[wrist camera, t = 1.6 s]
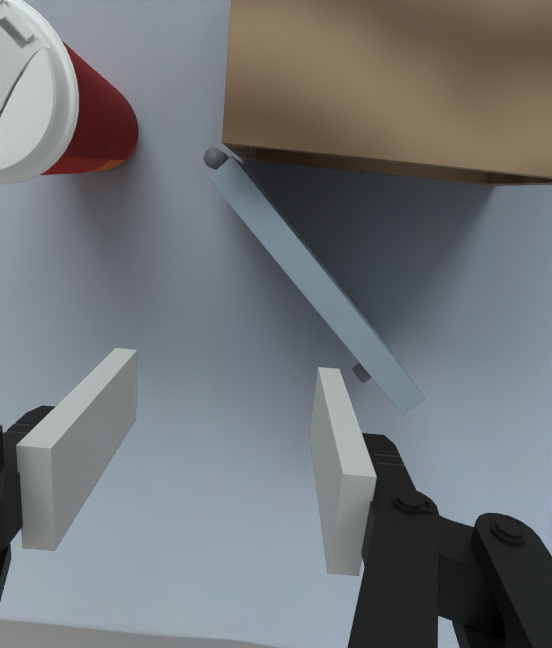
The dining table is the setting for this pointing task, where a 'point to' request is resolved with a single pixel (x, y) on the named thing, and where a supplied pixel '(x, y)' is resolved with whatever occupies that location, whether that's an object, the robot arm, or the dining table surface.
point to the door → (312, 279)
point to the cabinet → (394, 87)
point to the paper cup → (55, 104)
